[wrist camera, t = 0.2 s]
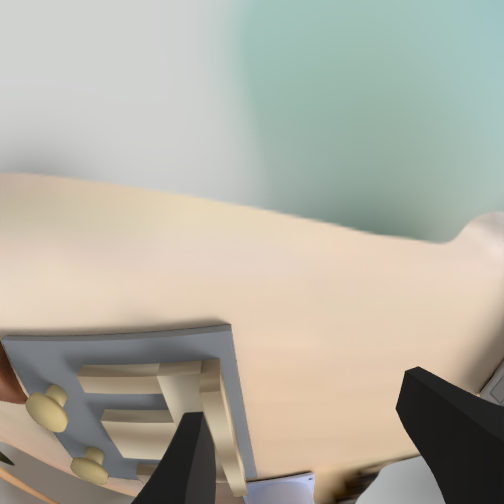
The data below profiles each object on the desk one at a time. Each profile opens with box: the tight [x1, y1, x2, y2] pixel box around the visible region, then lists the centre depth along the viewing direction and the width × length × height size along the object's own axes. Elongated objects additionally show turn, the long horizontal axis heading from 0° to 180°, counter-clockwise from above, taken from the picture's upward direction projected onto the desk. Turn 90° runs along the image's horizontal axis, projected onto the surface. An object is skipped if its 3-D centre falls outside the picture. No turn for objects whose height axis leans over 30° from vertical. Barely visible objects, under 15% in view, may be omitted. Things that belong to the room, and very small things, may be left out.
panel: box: [77, 358, 248, 497], centre depth 18 cm, size 14×10×3 cm
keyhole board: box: [2, 324, 257, 484], centre depth 19 cm, size 18×19×4 cm
